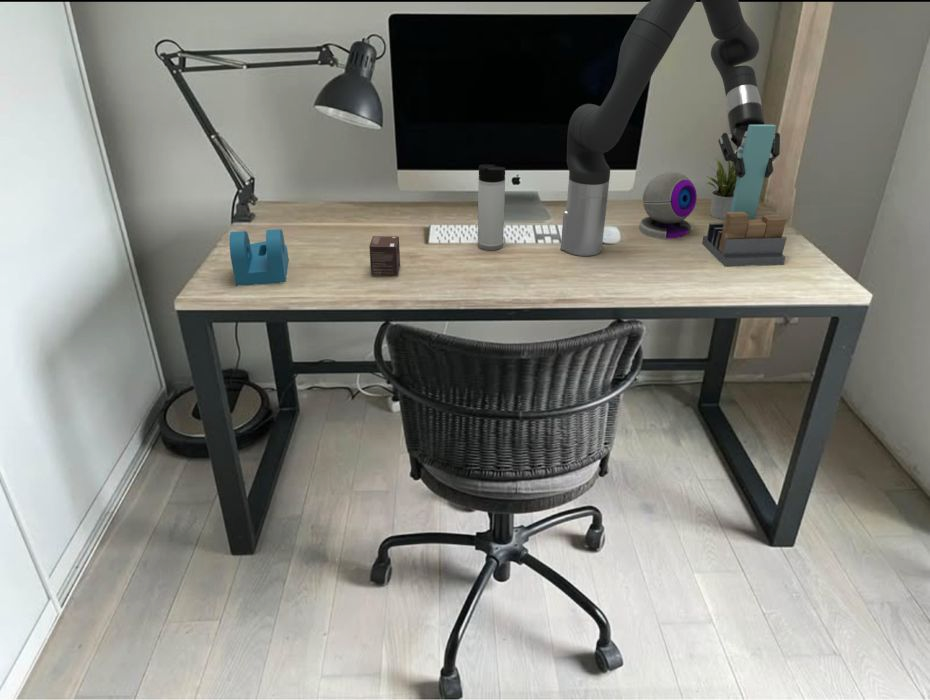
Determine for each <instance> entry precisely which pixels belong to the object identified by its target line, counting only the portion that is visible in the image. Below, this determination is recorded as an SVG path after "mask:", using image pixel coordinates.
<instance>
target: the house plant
mask: <svg viewBox="0 0 930 700" xmlns="http://www.w3.org/2000/svg"><path fill="white" fill-rule="evenodd" d="M714 159H715V161H716V163H717V166H718V167H717V168H718V169H717V170H716V171H715V173H716V175H714V176H715V178H714V177H711V176H706V177H707V178H708V179H710V180H711V181H712V182H713V183H715V184H716V185H717V187H716V185H715V184H713V183H712V182H711V181H710V182H709V181H708V182H706V184H708V185H711V186H712V187H714V188H715V189H714V190H712V191H711V195H710V196H711V201H710V202H711V206H710V207H711V210H710V216H711V215H712V216H711V217H713V218H716V219H719V218H720V220H721V219H722V220H725V216H726V212H730V210H731V205H732V200H733V196H734V191H735V186H736V182H737V177H738V175H736V173H735V167H734V163H733V162H732V161H727V162H728V174H727V171H725V169H724V165H723V164H722V163H721V161H719V159H718V158H717V157H714ZM705 164H707V165H708V166H710V168H712V169H713V170H715V168H714V167H713V166H711V165H710V164H709V163H708V162H707V163H705ZM716 179H717V180H716ZM717 188H718V189H717Z"/></svg>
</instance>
